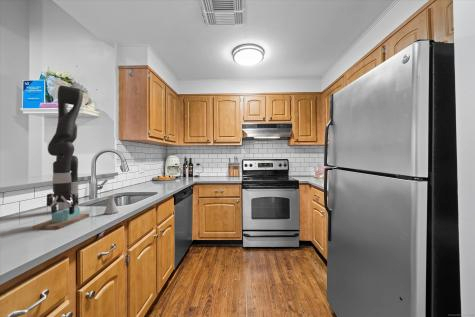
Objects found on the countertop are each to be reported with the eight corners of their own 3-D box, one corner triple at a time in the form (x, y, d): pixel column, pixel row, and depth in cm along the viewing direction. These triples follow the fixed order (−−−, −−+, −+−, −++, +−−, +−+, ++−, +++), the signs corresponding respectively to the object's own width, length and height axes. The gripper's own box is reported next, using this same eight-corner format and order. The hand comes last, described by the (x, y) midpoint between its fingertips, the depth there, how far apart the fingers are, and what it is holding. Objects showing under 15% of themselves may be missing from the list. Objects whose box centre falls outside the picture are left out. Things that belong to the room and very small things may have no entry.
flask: (112, 214, 136) (112, 196, 135) (101, 214, 137) (100, 196, 137) (121, 211, 143) (120, 194, 143) (110, 211, 144) (110, 194, 144)
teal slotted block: (51, 222, 116) (51, 213, 116) (70, 215, 129) (70, 207, 129) (62, 221, 116) (62, 213, 116) (79, 215, 129) (79, 207, 129)
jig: (32, 229, 110) (32, 218, 110) (67, 216, 132) (66, 207, 132) (59, 229, 110) (58, 218, 110) (89, 216, 132) (88, 207, 132)
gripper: (81, 180, 124) (82, 212, 125) (53, 181, 124) (54, 212, 125) (71, 182, 117) (71, 216, 117) (41, 182, 117) (42, 216, 117)
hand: (62, 214), depth 121 cm, fingers open, 8 cm apart
